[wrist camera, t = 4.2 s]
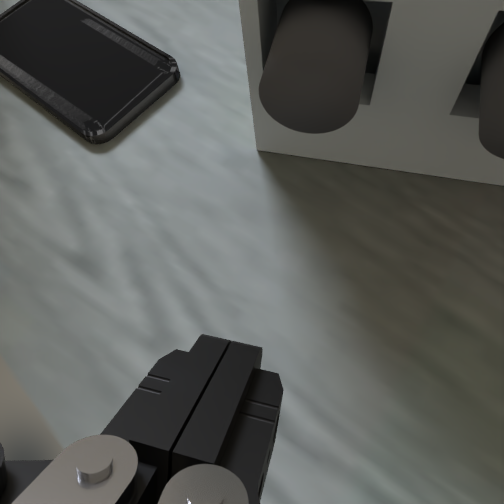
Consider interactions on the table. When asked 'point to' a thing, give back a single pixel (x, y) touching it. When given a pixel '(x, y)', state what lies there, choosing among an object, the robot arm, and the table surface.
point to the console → (396, 90)
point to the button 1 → (317, 64)
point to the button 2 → (492, 94)
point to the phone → (82, 66)
